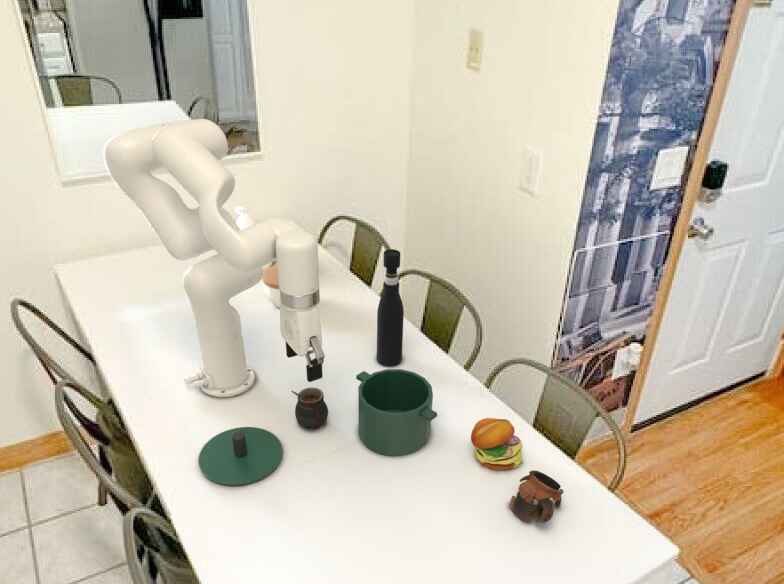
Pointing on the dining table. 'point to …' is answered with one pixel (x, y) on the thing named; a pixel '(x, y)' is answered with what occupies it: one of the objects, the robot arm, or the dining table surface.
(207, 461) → the lid
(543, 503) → the brown hollow piece
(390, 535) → the dining table surface
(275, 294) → the lidded bowl
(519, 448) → the cheeseburger
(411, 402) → the pot
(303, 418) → the mate gourd
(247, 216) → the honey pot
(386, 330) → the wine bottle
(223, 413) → the dining table surface
